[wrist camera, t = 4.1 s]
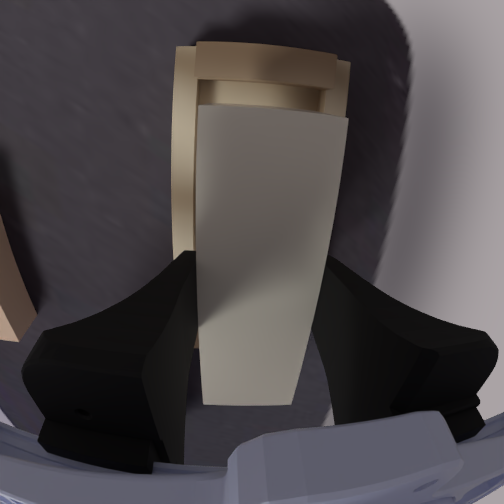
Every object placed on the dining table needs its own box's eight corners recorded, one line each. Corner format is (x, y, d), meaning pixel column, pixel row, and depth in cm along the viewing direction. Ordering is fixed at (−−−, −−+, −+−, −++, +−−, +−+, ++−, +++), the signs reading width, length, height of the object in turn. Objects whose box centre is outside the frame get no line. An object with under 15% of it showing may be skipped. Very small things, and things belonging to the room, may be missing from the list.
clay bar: (281, 346, 17) (291, 404, 13) (207, 344, 17) (203, 404, 13) (313, 110, 11) (348, 118, 8) (210, 103, 11) (198, 105, 7)
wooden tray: (300, 317, 24) (309, 349, 21) (182, 313, 23) (176, 346, 20) (338, 65, 16) (360, 59, 13) (183, 52, 15) (171, 42, 12)
